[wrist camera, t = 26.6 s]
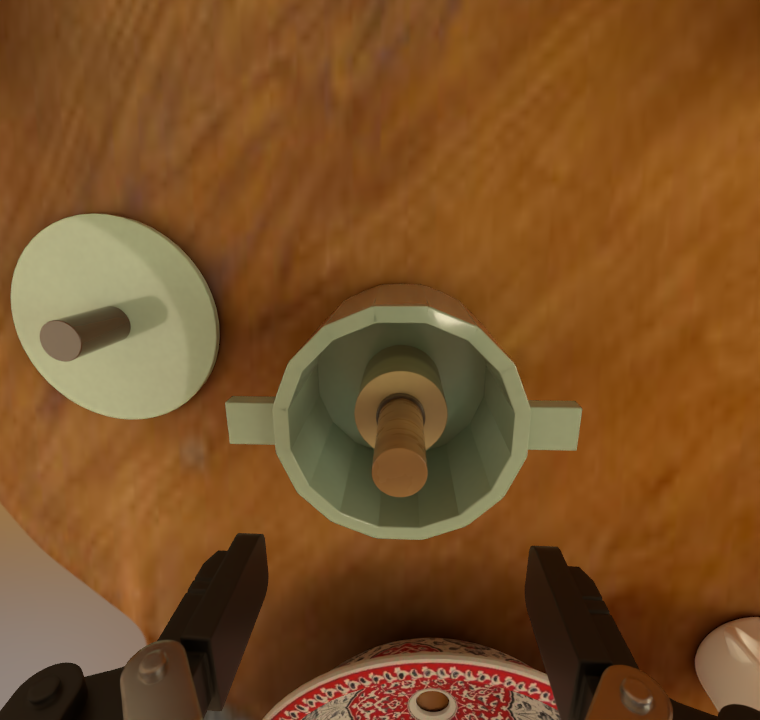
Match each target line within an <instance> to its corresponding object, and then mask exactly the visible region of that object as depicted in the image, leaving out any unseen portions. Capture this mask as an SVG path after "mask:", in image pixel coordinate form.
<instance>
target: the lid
mask: <svg viewBox="0 0 760 720" xmlns="http://www.w3.org/2000/svg"><path fill="white" fill-rule="evenodd" d="M11 311H12V316H13V321H14V325H15V328H16V331H17V334H18V337H19V339H20V342H21V344H22V346H23V348H24V350H25V352H26V354H27V355H28V357H29V359H30V360H31V362H32V363H33V365H34V366H35V367H36V369H37V370H38V371H39V373H40V374H41V375H42V376H43V377H44V378H45V379H46V380H47V381H48V382H49V383H50V384H51V385H52V386H53V387H54V388H55V389H56V390H57V391H59V392H60V393H61V394H63V395H64V396H65V397H67V398H68V399H70V400H71V401H73V402H75V403H76V404H78V405H80V406H82V407H84V408H86V409H88V410H90V411H93V412H95V413H98V414H102V415H105V416H109V417H114V418H119V419H131V420H132V419H147V418H152V417H157V416H160V415H163V414H166V413H169V412H171V411H173V410H175V409H177V408H179V407H180V406H182V405H183V404H184V403H186V402H187V401H189V400H190V399H191V398H192V397H193V396H194V395H195V394H196V393H197V392H198V391H199V390H200V389H201V388H202V386H203V385H204V384H205V383H206V381H207V379H208V378H209V376H210V374H211V372H212V370H213V367H214V365H215V362H216V358H217V354H218V349H219V339H220V331H219V319H218V314H217V309H216V306H215V302H214V299H213V296H212V294H211V291H210V289H209V287H208V285H207V283H206V281H205V279H204V278H203V276H202V274H201V273H200V271H199V269H198V268H197V267H196V265H195V264H194V263H193V262H192V260H191V259H190V258H189V257H188V256H187V255H186V254H185V252H184V251H183V250H182V249H181V248H180V247H179V246H177V245H176V244H175V243H174V242H173V241H171V240H170V239H169V238H168V237H166V236H165V235H163V234H162V233H160V232H159V231H157V230H155V229H154V228H152V227H150V226H148V225H145V224H143V223H141V222H139V221H136V220H133V219H130V218H127V217H122V216H117V215H112V214H96V213H92V214H80V215H75V216H71V217H67V218H64V219H62V220H59V221H57V222H54V223H53V224H51V225H49V226H48V227H46V228H45V229H43V230H42V231H41V232H39V233H38V234H37V235H36V236H35V237H34V238H33V239H32V240H31V241H30V242H29V244H28V245H27V246H26V247H25V249H24V251H23V252H22V254H21V256H20V258H19V259H18V262H17V265H16V267H15V270H14V274H13V279H12V283H11Z"/></svg>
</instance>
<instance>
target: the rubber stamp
mask: <svg viewBox="0 0 760 720" xmlns="http://www.w3.org/2000/svg"><path fill="white" fill-rule="evenodd" d="M354 416H355V422H356V426H357V428H358V431H359V433H360V434H361V436H362V437H363V439H364V440H365V441H366V442H367V443H368V444H369V445H370V446H372V447H373V448H374V455H373V462H372V471H371V473H372V479H373V481H374V483H375V485H376V486H377V487H378V488H379V489H380V490H381V491H382V492H384V493H385V494H387V495H390V496H393V497H407V496H411V495H413V494H415V493H417V492H418V491H419V490H420V489H421V488H422V487H423V486H424V484H425V483H426V480H427V476H428V468H427V458H426V450H427V449H428V448H430V447H431V446H432V445H433V444H435V443H436V442H437V440H438V439H439V438H440V437H441V435H442V433H443V432H444V429H445V427H446V423H447V417H448V412H447V404H446V400H445V396H444V392H443V388H442V383H441V379H440V375H439V371H438V368H437V366H436V364H435V363H434V361H433V360H432V359H431V357H430V356H429V355H427V354H426V353H425V352H423V351H422V350H420V349H418V348H415V347H412V346H408V345H395V346H390V347H387V348H385V349H383V350H381V351H379V352H378V353H377V354H375V355H374V356H373V357H372V358H371V360H370V361H369V363H368V364H367V366H366V368H365V371H364V375H363V378H362V382H361V385H360V389H359V393H358V396H357V400H356V404H355V410H354Z"/></svg>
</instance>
